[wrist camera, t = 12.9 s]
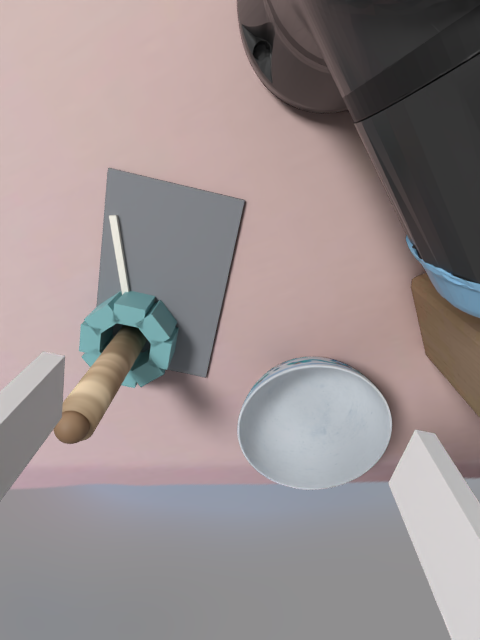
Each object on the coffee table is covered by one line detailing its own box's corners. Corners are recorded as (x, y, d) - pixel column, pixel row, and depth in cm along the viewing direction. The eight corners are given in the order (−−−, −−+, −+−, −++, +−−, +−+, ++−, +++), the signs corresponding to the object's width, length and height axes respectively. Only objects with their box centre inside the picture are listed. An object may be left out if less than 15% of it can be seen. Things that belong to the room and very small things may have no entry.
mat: (109, 167, 36) (107, 168, 36) (244, 199, 37) (244, 200, 37) (94, 352, 44) (92, 353, 44) (206, 375, 45) (205, 377, 44)
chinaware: (250, 446, 49) (250, 496, 41) (229, 339, 43) (224, 376, 36) (372, 433, 47) (393, 482, 40) (367, 321, 41) (391, 355, 34)
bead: (98, 283, 40) (82, 296, 37) (183, 302, 41) (176, 316, 37) (92, 357, 44) (77, 376, 40) (170, 374, 44) (162, 393, 41)
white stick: (110, 215, 38) (108, 215, 37) (117, 214, 38) (115, 215, 37) (123, 293, 41) (122, 294, 40) (130, 293, 41) (128, 294, 40)
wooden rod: (124, 315, 42) (43, 415, 26) (152, 321, 42) (88, 424, 26) (121, 339, 43) (42, 449, 27) (148, 345, 43) (85, 458, 27)
